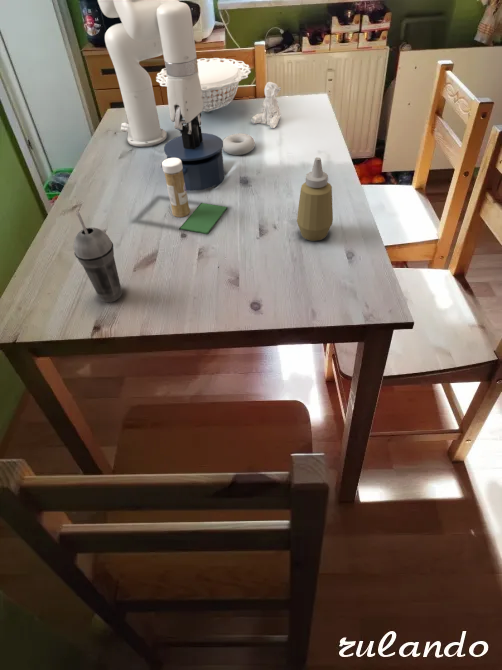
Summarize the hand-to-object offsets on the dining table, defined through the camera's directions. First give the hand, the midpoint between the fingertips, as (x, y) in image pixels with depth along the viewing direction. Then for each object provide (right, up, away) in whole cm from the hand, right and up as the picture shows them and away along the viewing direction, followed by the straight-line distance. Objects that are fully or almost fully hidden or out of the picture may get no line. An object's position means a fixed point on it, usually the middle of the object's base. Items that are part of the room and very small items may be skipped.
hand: (193, 144), depth 121 cm
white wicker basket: (0, +28, +41) cm, 49 cm away
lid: (0, -1, +1) cm, 1 cm away
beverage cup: (-14, -42, -26) cm, 51 cm away
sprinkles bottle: (-2, -20, -6) cm, 21 cm away
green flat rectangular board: (-2, -20, -6) cm, 21 cm away
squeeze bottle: (+30, -27, -15) cm, 43 cm away
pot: (+1, -7, +7) cm, 10 cm away
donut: (+12, +6, +19) cm, 23 cm away
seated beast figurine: (+21, +21, +32) cm, 44 cm away
